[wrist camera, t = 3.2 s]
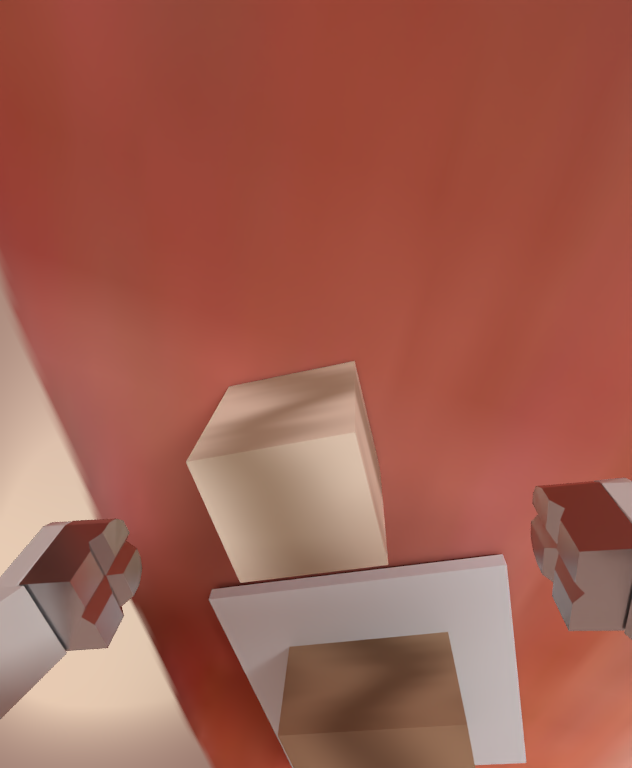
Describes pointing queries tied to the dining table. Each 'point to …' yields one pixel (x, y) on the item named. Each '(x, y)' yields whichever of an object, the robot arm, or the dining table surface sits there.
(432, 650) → the walnut base
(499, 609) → the white flat slab
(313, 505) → the ash cube
